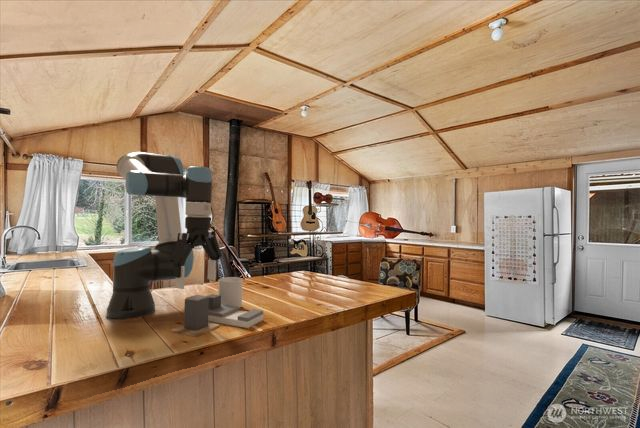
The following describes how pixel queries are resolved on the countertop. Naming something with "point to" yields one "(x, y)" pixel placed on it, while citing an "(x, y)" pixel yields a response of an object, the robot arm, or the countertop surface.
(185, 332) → the coaster
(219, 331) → the countertop surface
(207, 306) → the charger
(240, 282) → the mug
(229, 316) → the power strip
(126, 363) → the countertop surface
